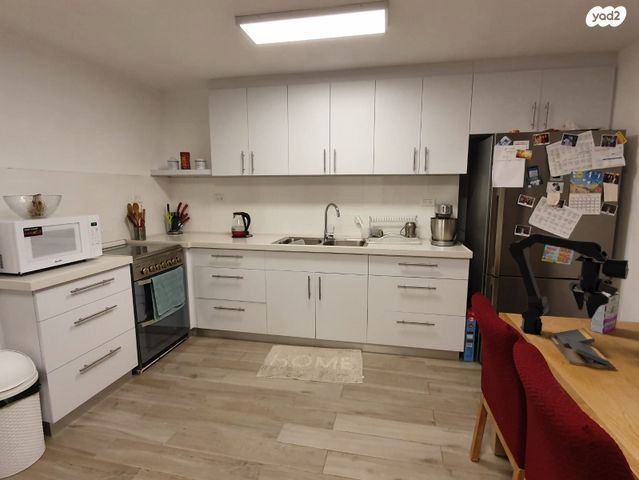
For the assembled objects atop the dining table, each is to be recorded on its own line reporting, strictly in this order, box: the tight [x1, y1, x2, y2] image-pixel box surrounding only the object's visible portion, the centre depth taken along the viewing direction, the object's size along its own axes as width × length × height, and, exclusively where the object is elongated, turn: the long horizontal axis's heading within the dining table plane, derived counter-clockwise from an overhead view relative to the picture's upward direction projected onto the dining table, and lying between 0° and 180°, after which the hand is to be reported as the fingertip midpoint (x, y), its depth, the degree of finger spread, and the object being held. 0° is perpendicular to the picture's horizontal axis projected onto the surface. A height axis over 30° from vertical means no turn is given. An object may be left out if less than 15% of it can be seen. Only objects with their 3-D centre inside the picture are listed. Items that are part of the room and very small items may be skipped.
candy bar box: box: [589, 291, 621, 335], centre depth 144 cm, size 11×5×16 cm, turn 118°
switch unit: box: [548, 334, 616, 371], centre depth 125 cm, size 13×22×2 cm, turn 161°
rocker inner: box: [554, 327, 596, 347], centre depth 129 cm, size 10×10×2 cm
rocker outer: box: [565, 337, 610, 365], centre depth 119 cm, size 10×10×2 cm
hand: (585, 313), depth 128 cm, fingers open, 9 cm apart
